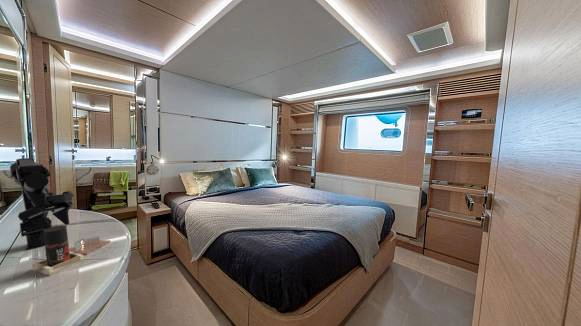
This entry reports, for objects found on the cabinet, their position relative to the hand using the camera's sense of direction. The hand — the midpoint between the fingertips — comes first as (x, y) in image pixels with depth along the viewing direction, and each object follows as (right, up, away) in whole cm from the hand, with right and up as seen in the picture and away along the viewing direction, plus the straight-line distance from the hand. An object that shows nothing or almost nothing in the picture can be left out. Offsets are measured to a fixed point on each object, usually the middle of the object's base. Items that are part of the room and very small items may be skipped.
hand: (59, 227), depth 87 cm
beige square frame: (+6, -13, -5) cm, 15 cm away
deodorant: (+6, -14, -5) cm, 16 cm away
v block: (+4, -12, +8) cm, 15 cm away
